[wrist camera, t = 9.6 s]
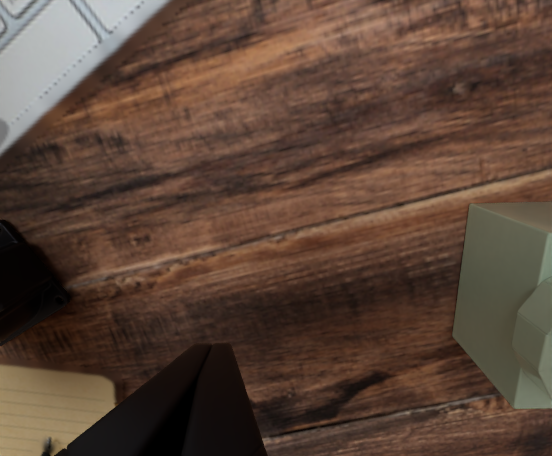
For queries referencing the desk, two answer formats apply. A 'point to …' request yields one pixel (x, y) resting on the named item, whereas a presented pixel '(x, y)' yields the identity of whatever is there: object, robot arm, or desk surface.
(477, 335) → the green button box
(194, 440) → the robot arm
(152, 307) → the desk surface
